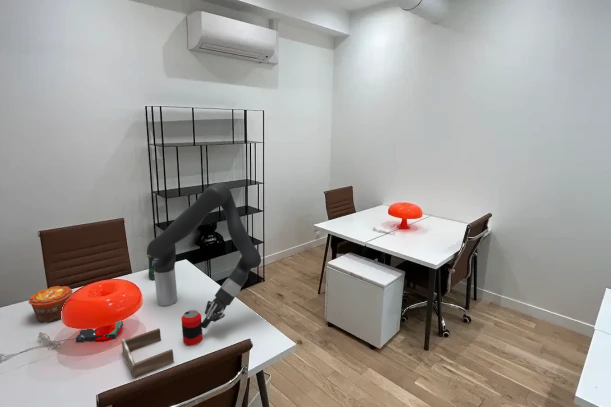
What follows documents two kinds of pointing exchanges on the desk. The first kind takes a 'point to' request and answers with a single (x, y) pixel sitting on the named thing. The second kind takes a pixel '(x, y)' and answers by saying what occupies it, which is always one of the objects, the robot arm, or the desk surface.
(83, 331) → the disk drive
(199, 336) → the soda can
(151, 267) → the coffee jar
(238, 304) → the desk surface
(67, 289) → the food container
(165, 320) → the desk surface
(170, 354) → the frame
